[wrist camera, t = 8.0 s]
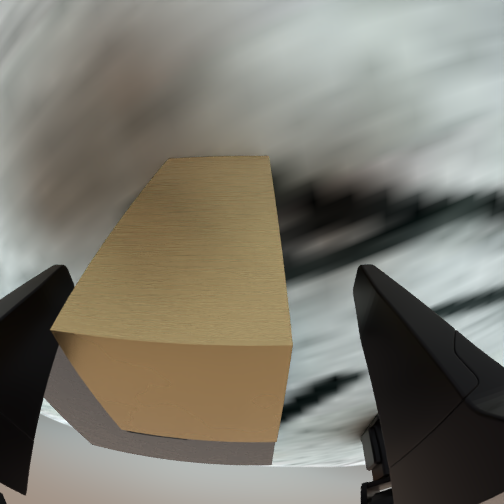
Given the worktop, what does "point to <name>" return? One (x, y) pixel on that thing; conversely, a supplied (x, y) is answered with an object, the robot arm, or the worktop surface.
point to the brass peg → (188, 307)
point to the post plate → (112, 437)
